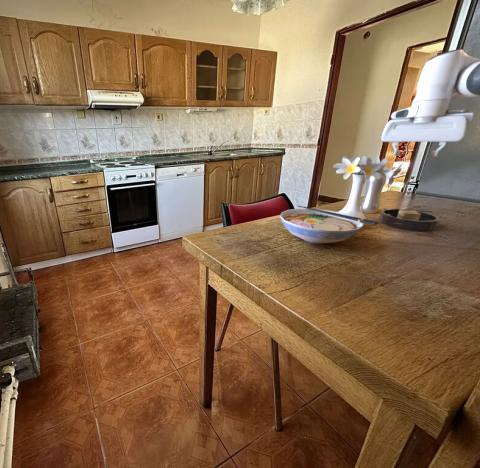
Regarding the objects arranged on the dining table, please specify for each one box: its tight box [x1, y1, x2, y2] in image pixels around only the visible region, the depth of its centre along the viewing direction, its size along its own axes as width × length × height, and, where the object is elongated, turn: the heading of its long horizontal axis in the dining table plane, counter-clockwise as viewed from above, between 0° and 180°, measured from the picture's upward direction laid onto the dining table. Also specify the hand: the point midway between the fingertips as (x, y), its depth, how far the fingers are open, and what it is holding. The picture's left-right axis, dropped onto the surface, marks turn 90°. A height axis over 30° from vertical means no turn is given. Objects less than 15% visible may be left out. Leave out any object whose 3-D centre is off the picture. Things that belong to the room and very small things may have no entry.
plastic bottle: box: [360, 165, 387, 214], centre depth 105 cm, size 6×7×20 cm
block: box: [397, 209, 421, 221], centre depth 92 cm, size 4×4×4 cm
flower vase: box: [332, 154, 403, 225], centre depth 88 cm, size 13×18×25 cm
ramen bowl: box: [279, 205, 380, 245], centre depth 82 cm, size 25×23×8 cm
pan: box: [378, 208, 440, 232], centre depth 93 cm, size 16×16×4 cm
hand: (414, 155), depth 88 cm, fingers open, 8 cm apart
